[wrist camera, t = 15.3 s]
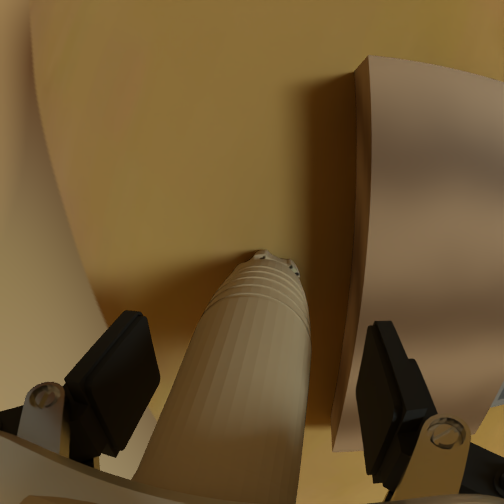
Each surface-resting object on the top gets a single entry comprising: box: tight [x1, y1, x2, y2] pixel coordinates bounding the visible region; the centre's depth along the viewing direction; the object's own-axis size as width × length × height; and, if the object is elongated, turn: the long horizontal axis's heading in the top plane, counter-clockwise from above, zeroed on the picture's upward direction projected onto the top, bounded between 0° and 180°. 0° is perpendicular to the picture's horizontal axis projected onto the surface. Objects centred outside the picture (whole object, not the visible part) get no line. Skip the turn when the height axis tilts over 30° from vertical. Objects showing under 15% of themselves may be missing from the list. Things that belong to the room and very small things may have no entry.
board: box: [331, 55, 504, 452], centre depth 13 cm, size 20×10×3 cm, turn 2°
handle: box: [20, 250, 312, 504], centre depth 9 cm, size 5×6×15 cm
